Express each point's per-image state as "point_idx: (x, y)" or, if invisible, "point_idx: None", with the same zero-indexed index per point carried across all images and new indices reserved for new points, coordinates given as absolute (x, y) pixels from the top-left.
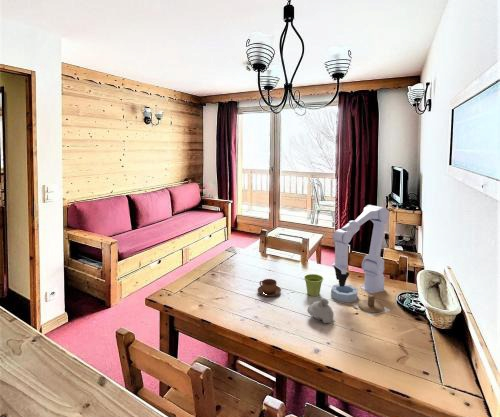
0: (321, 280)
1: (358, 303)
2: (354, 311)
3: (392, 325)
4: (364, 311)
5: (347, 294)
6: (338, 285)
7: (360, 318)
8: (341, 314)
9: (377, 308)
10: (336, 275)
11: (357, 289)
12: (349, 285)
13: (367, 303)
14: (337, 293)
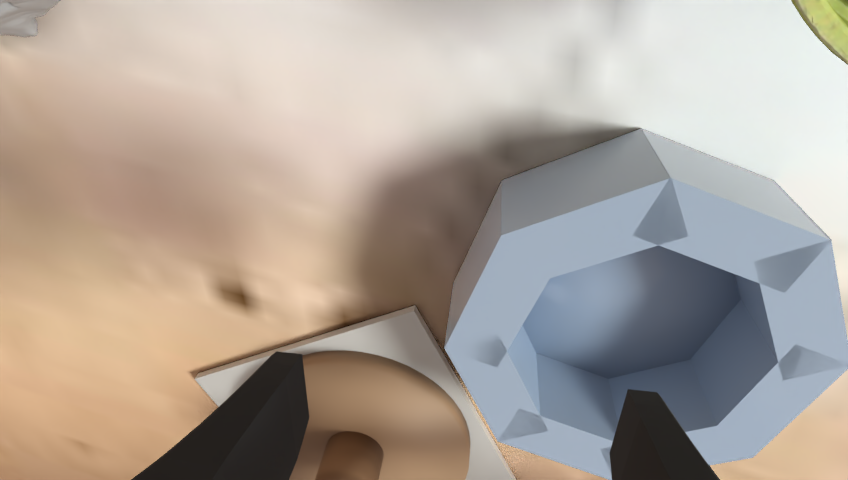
0: (811, 21)
1: (380, 374)
2: (274, 290)
3: (119, 457)
4: None
5: (468, 346)
6: (798, 318)
7: (152, 300)
8: (179, 150)
9: (301, 471)
10: (660, 465)
11: (606, 477)
12: (752, 440)
13: (388, 439)
14: (503, 236)
